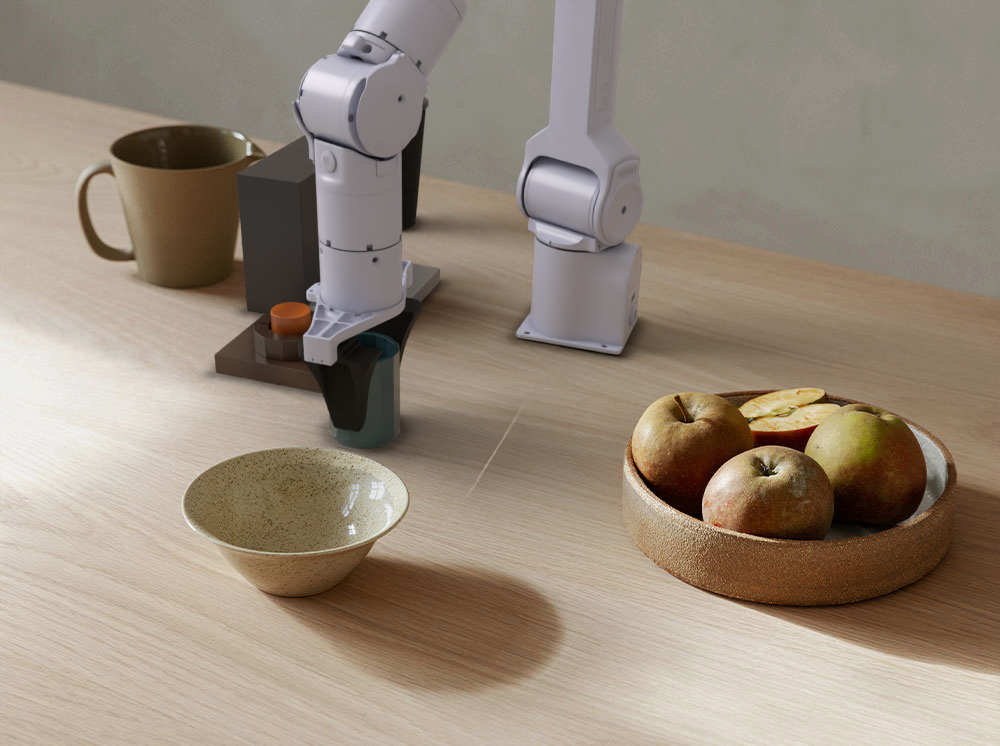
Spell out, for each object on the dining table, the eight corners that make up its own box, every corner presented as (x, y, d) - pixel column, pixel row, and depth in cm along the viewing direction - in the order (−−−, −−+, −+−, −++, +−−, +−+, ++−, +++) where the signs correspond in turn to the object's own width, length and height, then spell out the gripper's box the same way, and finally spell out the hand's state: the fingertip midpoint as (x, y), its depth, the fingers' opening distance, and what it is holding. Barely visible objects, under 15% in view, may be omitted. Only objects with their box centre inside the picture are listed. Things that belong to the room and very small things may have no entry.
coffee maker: (440, 282, 108) (441, 152, 102) (389, 336, 97) (387, 195, 91) (310, 261, 112) (304, 134, 106) (246, 311, 101) (236, 173, 95)
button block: (368, 352, 94) (367, 314, 93) (327, 394, 88) (325, 355, 86) (262, 333, 97) (260, 296, 95) (215, 372, 90) (212, 334, 89)
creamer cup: (410, 420, 85) (410, 338, 81) (383, 454, 80) (382, 369, 77) (348, 408, 86) (345, 327, 83) (318, 441, 81) (313, 357, 78)
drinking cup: (349, 215, 124) (344, 32, 114) (413, 207, 127) (413, 28, 117) (372, 238, 118) (368, 47, 108) (438, 230, 121) (440, 43, 111)
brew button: (317, 324, 92) (317, 305, 91) (300, 340, 89) (299, 320, 88) (283, 318, 93) (282, 299, 92) (264, 333, 90) (263, 314, 89)
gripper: (350, 197, 83) (355, 357, 89) (256, 265, 71) (269, 446, 77) (438, 209, 81) (437, 372, 88) (358, 282, 69) (363, 465, 75)
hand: (364, 408), depth 82 cm, fingers closed on creamer cup, 5 cm apart
